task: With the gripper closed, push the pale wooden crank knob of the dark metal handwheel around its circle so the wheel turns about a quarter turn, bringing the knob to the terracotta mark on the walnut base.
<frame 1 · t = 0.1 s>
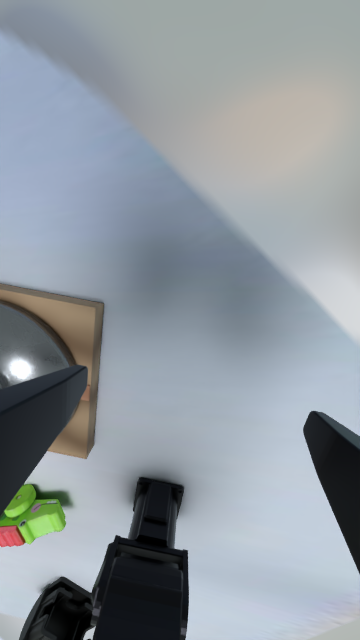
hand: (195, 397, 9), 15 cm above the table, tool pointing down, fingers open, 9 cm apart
end cap: (72, 592, 40), on the table
wheel base: (18, 366, 26), on the table
toy crocodile: (15, 496, 34), on the table
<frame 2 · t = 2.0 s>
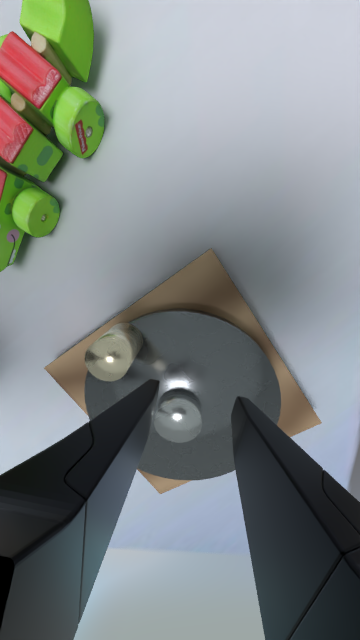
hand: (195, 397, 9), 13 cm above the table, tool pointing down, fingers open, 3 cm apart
wheel base: (182, 383, 23), on the table
handwheel: (176, 414, 18), point 5 cm above the table, hinge at 0.0°
toy crocodile: (46, 165, 19), on the table
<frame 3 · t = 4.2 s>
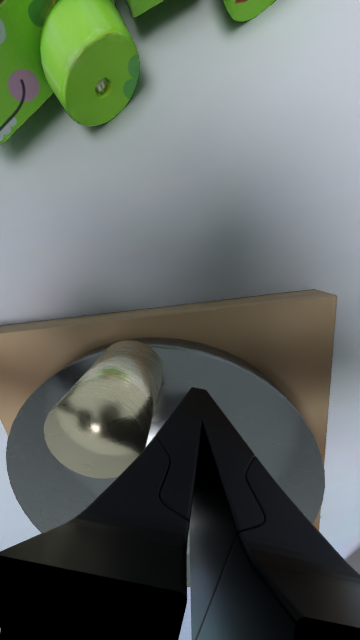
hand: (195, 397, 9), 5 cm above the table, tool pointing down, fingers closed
wheel base: (167, 438, 16), on the table
handwheel: (155, 515, 11), point 5 cm above the table, hinge at 0.5°, touching gripper
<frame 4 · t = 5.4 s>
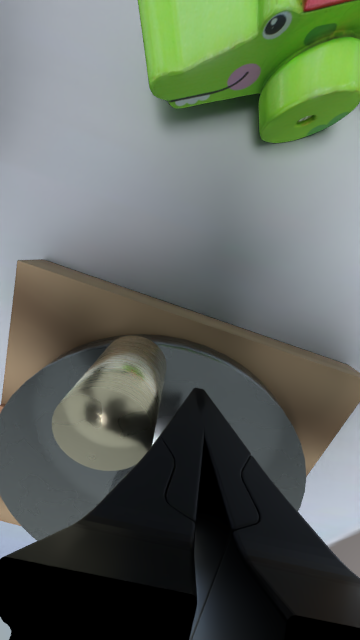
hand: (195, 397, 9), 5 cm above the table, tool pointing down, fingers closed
wheel base: (155, 435, 16), on the table
handwheel: (141, 510, 11), point 5 cm above the table, hinge at 20.4°, touching gripper
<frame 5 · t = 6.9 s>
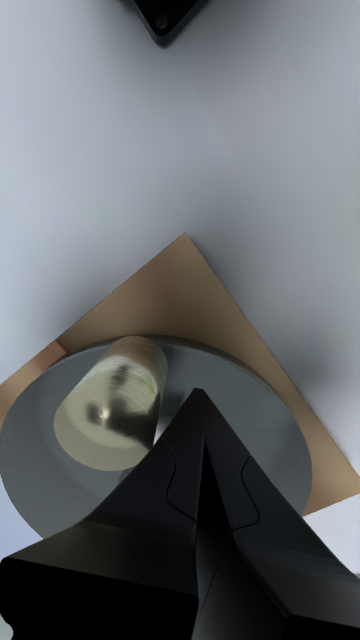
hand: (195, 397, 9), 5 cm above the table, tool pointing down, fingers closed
wheel base: (160, 435, 16), on the table
handwheel: (147, 509, 11), point 5 cm above the table, hinge at 55.4°, touching gripper
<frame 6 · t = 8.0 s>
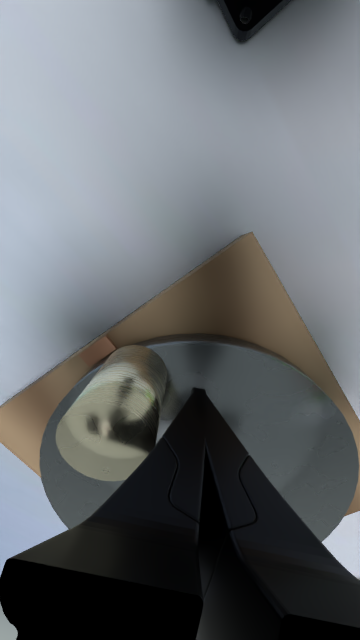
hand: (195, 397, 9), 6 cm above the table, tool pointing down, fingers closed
wheel base: (192, 435, 16), on the table
handwheel: (193, 510, 11), point 5 cm above the table, hinge at 76.5°, touching gripper
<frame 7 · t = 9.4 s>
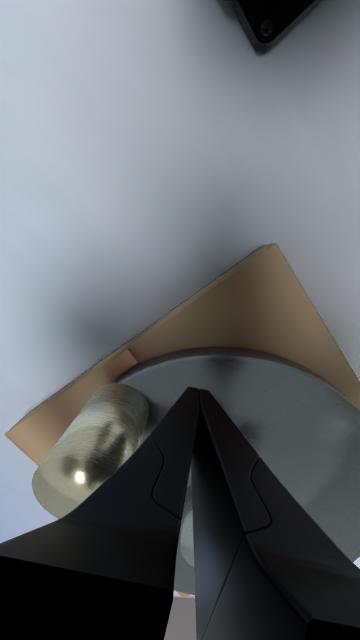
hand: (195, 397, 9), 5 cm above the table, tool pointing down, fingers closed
wheel base: (213, 446, 16), on the table
handwheel: (217, 528, 11), point 5 cm above the table, hinge at 93.9°
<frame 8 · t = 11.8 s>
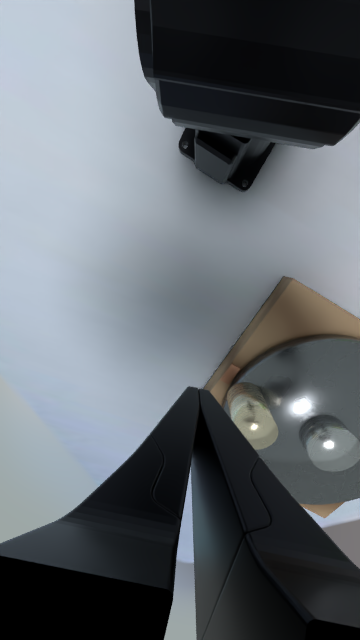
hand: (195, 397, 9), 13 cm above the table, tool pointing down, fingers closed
wheel base: (302, 405, 23), on the table
handwheel: (327, 444, 18), point 5 cm above the table, hinge at 93.9°
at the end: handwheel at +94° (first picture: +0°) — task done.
